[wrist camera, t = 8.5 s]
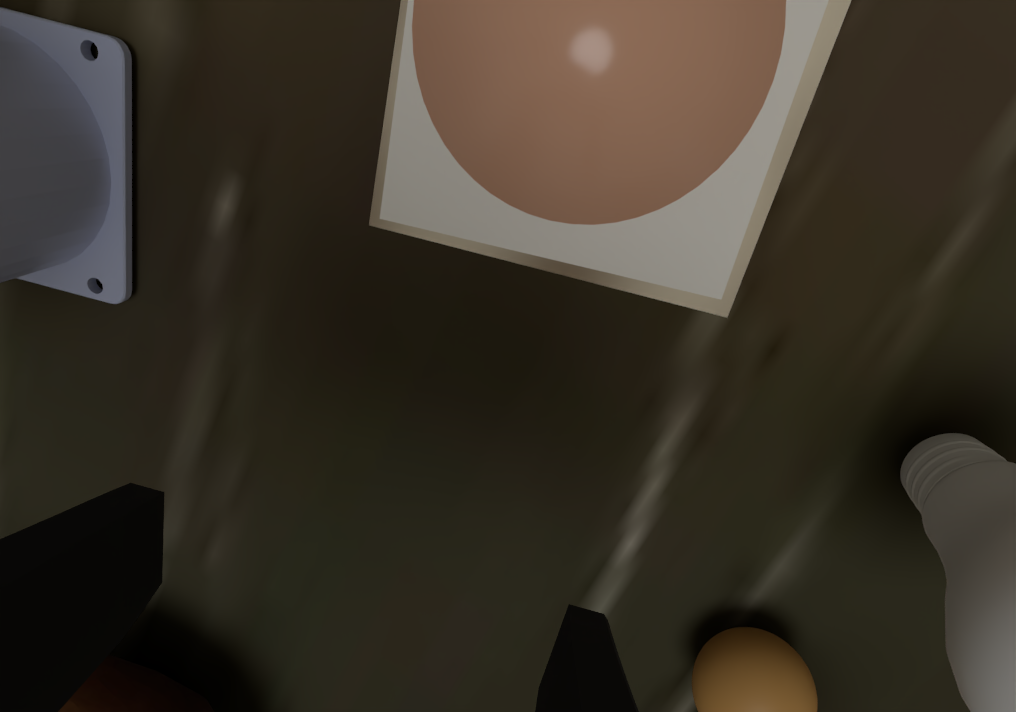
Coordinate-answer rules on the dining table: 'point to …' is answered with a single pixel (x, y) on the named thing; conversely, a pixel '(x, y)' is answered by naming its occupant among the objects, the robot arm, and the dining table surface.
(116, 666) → the butternut squash
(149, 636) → the dining table surface
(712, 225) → the cream slab
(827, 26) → the birch slab
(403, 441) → the dining table surface
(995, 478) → the lightbulb
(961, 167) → the dining table surface
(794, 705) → the figurine
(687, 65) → the terracotta cylinder
